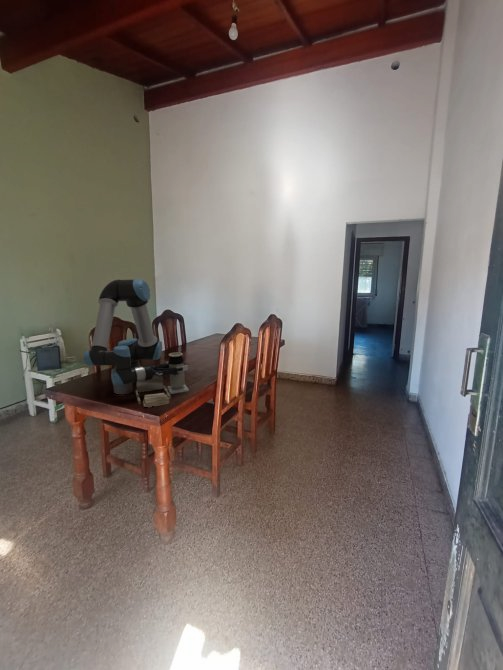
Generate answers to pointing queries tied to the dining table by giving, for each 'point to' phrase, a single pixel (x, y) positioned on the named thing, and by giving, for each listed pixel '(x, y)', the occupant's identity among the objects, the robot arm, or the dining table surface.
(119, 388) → the pillar candle
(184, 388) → the mat
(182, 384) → the travel mug
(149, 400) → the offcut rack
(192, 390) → the dining table surface
